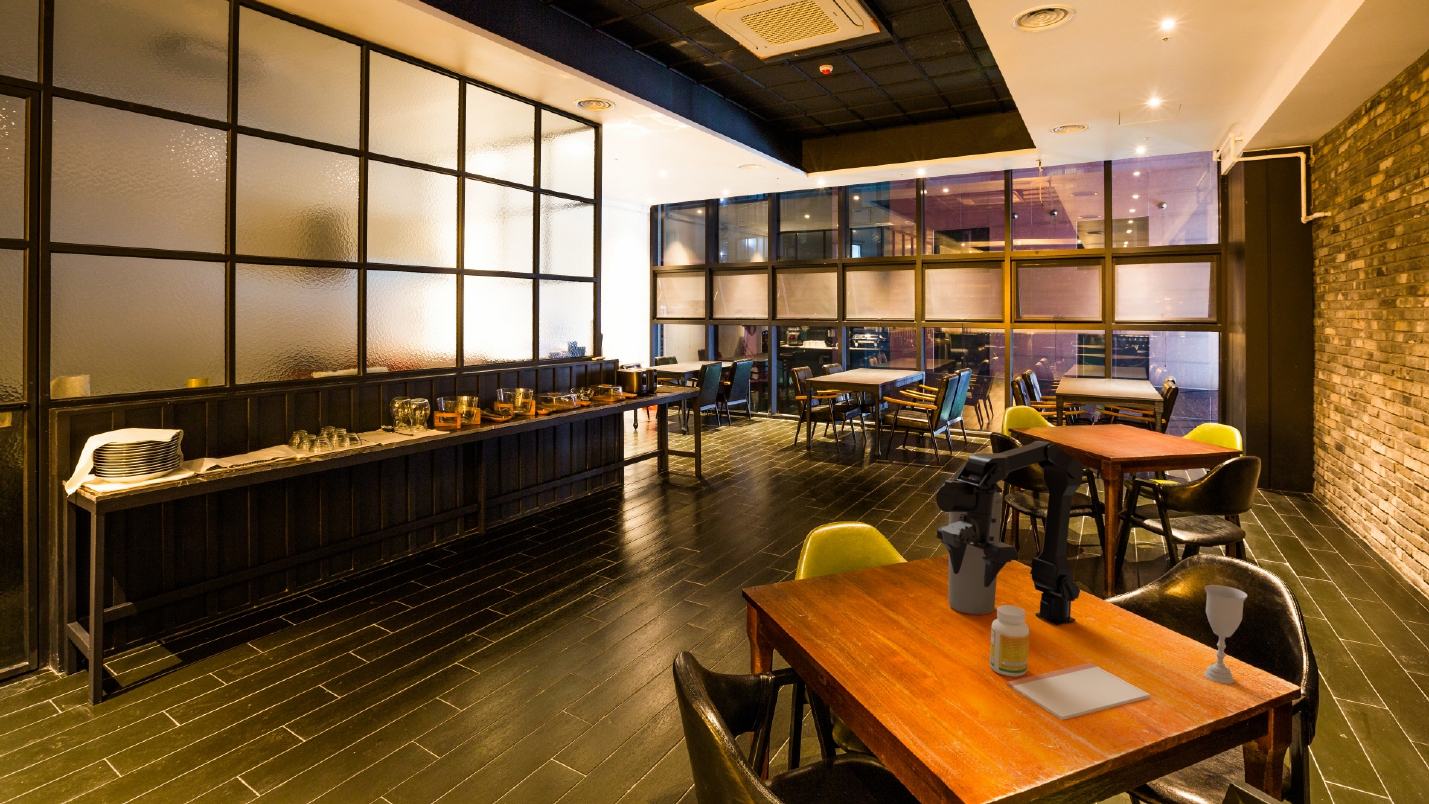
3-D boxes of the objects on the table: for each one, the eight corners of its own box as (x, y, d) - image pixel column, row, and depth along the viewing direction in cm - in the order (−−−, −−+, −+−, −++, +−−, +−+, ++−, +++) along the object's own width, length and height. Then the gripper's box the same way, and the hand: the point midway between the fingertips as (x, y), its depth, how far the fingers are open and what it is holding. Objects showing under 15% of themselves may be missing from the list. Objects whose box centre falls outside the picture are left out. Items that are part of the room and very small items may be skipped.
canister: (946, 615, 177) (951, 475, 173) (943, 596, 189) (947, 464, 185) (1002, 619, 174) (1007, 477, 170) (994, 600, 186) (1000, 467, 182)
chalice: (1189, 669, 149) (1195, 585, 147) (1220, 667, 149) (1227, 584, 147) (1217, 687, 142) (1223, 599, 140) (1249, 685, 142) (1256, 597, 140)
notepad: (1090, 665, 151) (1090, 662, 150) (1149, 697, 138) (1150, 694, 138) (1006, 684, 143) (1006, 681, 143) (1061, 720, 130) (1061, 716, 130)
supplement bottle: (982, 665, 151) (984, 606, 150) (1007, 658, 154) (1009, 600, 153) (1009, 681, 145) (1012, 619, 143) (1035, 673, 148) (1037, 613, 146)
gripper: (922, 502, 165) (914, 568, 166) (983, 522, 148) (975, 596, 149) (958, 502, 170) (951, 566, 171) (1022, 521, 153) (1014, 593, 154)
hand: (970, 580), depth 161 cm, fingers open, 9 cm apart
